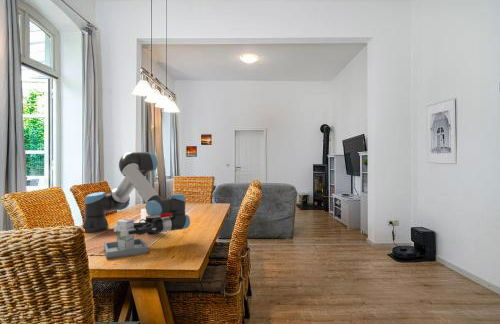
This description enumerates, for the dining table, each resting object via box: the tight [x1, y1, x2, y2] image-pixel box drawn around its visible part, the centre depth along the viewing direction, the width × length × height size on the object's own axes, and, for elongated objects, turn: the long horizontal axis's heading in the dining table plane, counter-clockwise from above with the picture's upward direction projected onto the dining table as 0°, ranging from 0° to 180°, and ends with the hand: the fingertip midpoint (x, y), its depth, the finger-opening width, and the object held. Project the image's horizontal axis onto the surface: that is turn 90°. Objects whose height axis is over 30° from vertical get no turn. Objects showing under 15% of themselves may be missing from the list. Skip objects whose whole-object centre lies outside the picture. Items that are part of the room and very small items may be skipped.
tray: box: [103, 237, 149, 260], centre depth 148 cm, size 18×18×3 cm
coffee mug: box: [138, 215, 160, 235], centre depth 184 cm, size 12×9×10 cm
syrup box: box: [116, 218, 135, 250], centre depth 148 cm, size 6×6×14 cm
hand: (117, 231), depth 146 cm, fingers open, 11 cm apart
